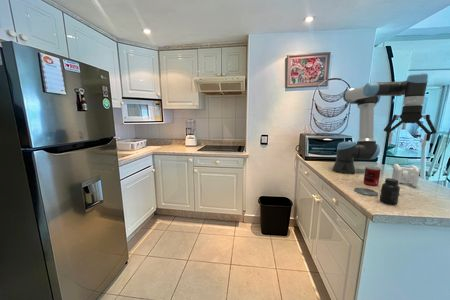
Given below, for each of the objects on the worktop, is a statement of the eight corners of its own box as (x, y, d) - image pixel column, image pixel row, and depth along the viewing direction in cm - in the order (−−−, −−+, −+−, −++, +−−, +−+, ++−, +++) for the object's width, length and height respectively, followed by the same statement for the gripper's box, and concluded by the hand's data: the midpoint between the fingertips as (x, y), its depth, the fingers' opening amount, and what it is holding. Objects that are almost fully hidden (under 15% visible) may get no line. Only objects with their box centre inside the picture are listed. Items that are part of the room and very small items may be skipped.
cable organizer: (417, 189, 112) (420, 170, 110) (393, 185, 118) (396, 167, 116) (411, 182, 124) (414, 164, 122) (390, 179, 130) (393, 162, 128)
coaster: (349, 189, 111) (349, 188, 111) (363, 187, 114) (363, 186, 114) (367, 197, 100) (368, 196, 100) (383, 194, 103) (383, 193, 103)
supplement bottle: (375, 199, 97) (379, 177, 95) (388, 199, 98) (391, 177, 96) (388, 206, 91) (392, 182, 89) (401, 205, 91) (405, 181, 89)
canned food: (376, 183, 122) (378, 166, 120) (380, 187, 115) (382, 169, 113) (361, 181, 125) (364, 165, 123) (364, 185, 118) (367, 168, 116)
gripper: (380, 106, 106) (375, 143, 110) (448, 103, 86) (439, 149, 90) (384, 106, 110) (379, 142, 114) (450, 104, 91) (441, 147, 95)
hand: (405, 145), depth 102 cm, fingers open, 13 cm apart
